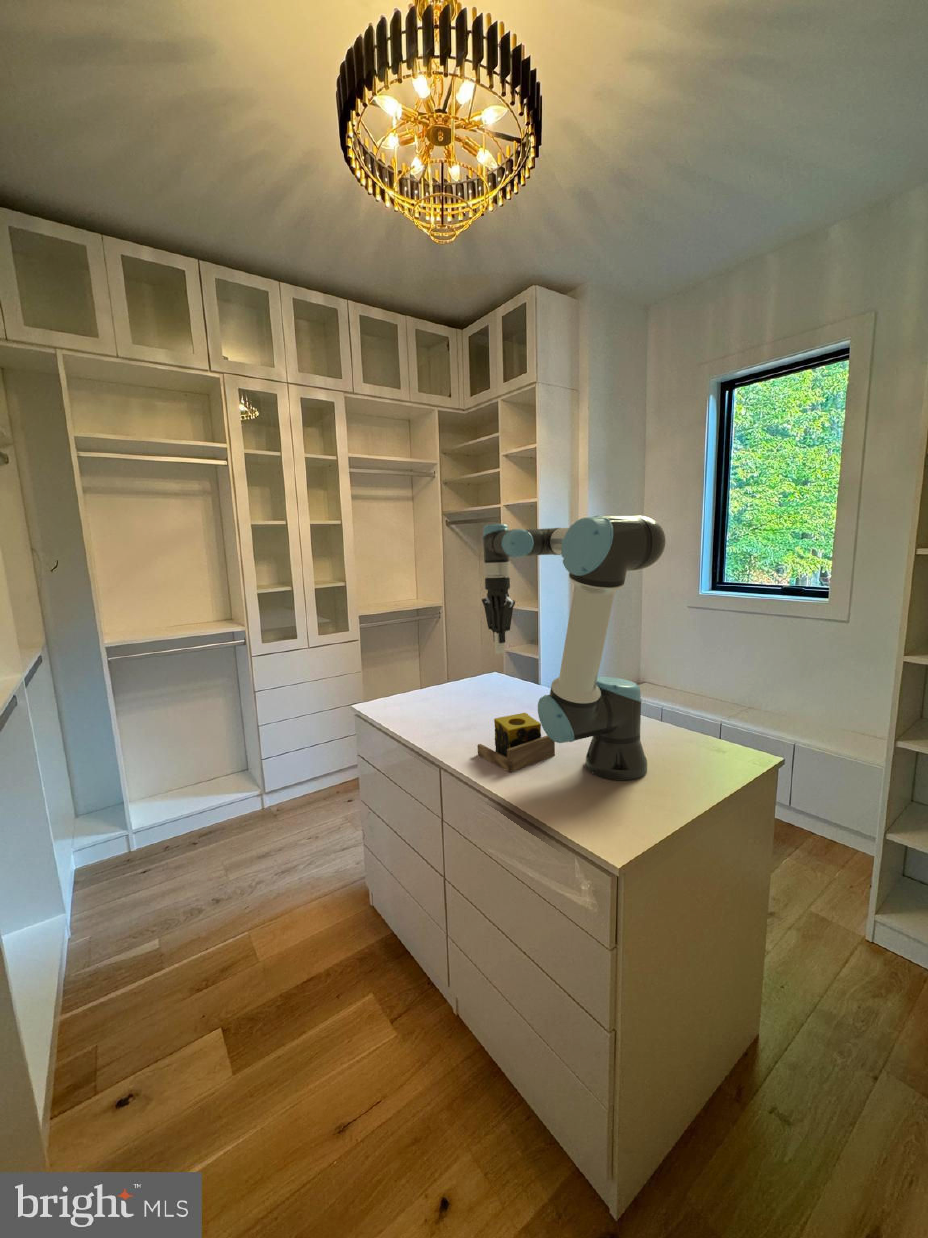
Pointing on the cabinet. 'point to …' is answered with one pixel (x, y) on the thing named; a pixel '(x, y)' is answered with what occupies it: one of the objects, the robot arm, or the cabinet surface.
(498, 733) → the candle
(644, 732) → the cabinet surface
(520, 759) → the dock
